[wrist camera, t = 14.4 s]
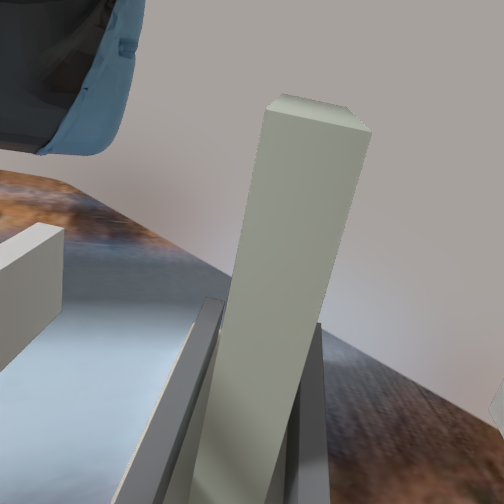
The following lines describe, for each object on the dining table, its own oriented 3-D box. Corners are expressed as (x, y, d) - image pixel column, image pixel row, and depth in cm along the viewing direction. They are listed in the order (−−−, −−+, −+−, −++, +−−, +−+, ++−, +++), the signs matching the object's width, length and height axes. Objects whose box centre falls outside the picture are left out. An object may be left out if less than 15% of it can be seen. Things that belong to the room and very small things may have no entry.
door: (257, 524, 19) (372, 132, 12) (186, 507, 19) (265, 109, 12) (274, 369, 28) (343, 104, 22) (227, 358, 28) (283, 92, 22)
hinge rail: (327, 693, 15) (362, 621, 13) (61, 625, 15) (65, 546, 14) (317, 363, 31) (332, 314, 30) (190, 334, 32) (199, 283, 30)
